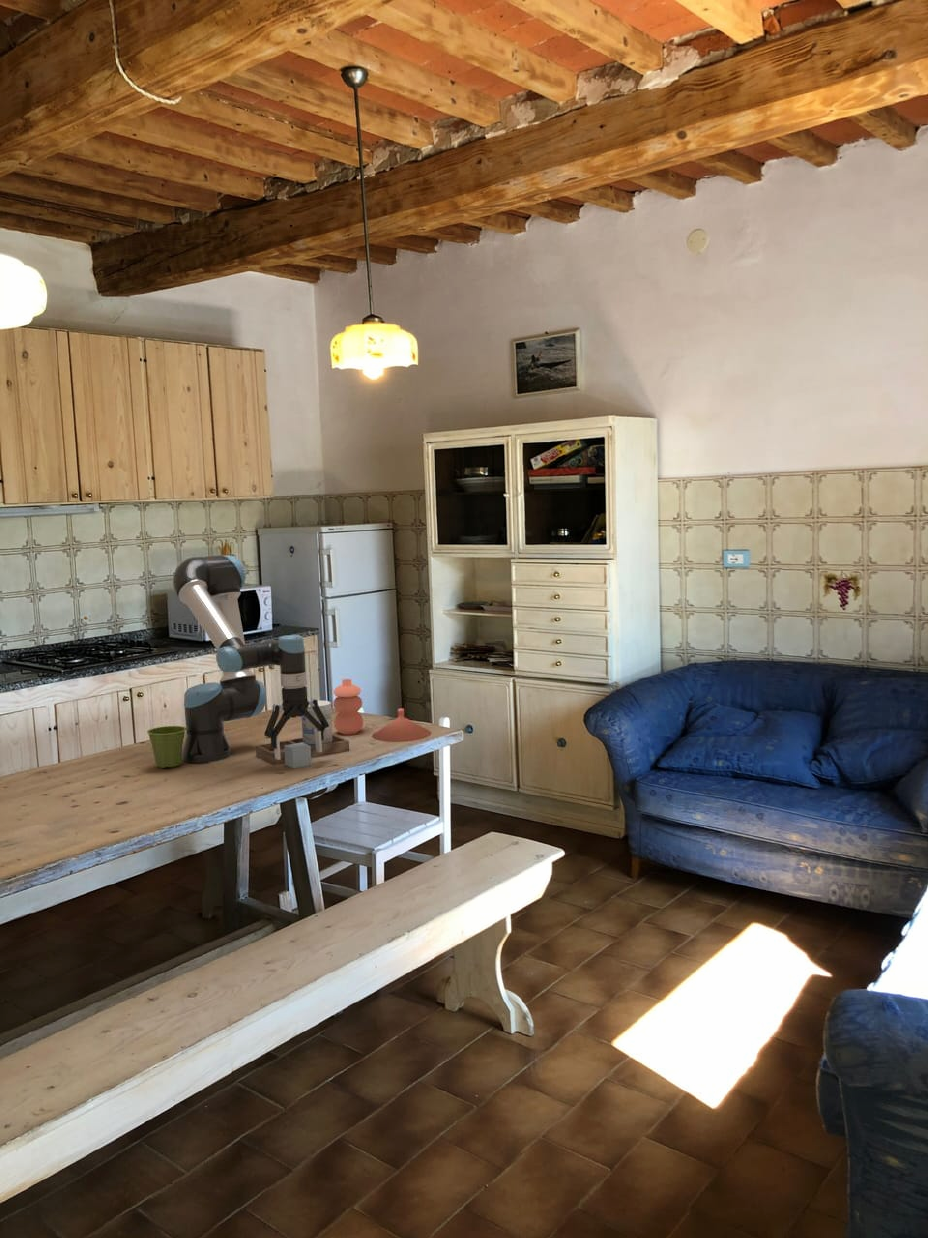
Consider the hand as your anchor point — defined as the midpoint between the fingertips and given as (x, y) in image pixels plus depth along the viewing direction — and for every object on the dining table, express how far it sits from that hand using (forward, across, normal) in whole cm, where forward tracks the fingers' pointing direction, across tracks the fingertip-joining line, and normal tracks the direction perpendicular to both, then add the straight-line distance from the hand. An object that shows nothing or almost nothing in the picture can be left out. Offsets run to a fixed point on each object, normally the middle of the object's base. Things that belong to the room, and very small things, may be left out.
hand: (298, 755), depth 306 cm
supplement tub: (+2, +12, +13) cm, 18 cm away
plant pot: (+3, -32, +26) cm, 42 cm away
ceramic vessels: (+3, +39, +19) cm, 44 cm away
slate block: (+3, 0, 0) cm, 3 cm away
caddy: (+3, +7, +13) cm, 15 cm away
